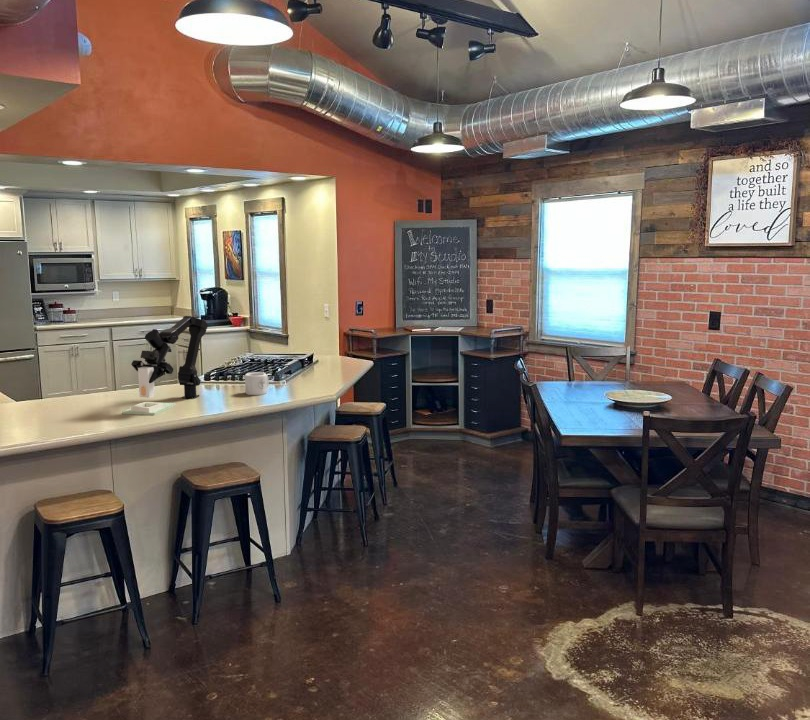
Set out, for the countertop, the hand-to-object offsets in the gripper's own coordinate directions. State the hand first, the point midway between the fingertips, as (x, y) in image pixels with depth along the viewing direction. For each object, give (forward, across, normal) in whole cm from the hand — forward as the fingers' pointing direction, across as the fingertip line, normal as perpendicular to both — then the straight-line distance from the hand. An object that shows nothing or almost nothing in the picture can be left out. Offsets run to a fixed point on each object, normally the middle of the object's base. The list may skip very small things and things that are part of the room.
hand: (144, 382), depth 301 cm
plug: (+4, 0, +6) cm, 7 cm away
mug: (-29, +26, +49) cm, 62 cm away
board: (+6, -2, +13) cm, 15 cm away
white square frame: (+9, 0, +10) cm, 14 cm away
